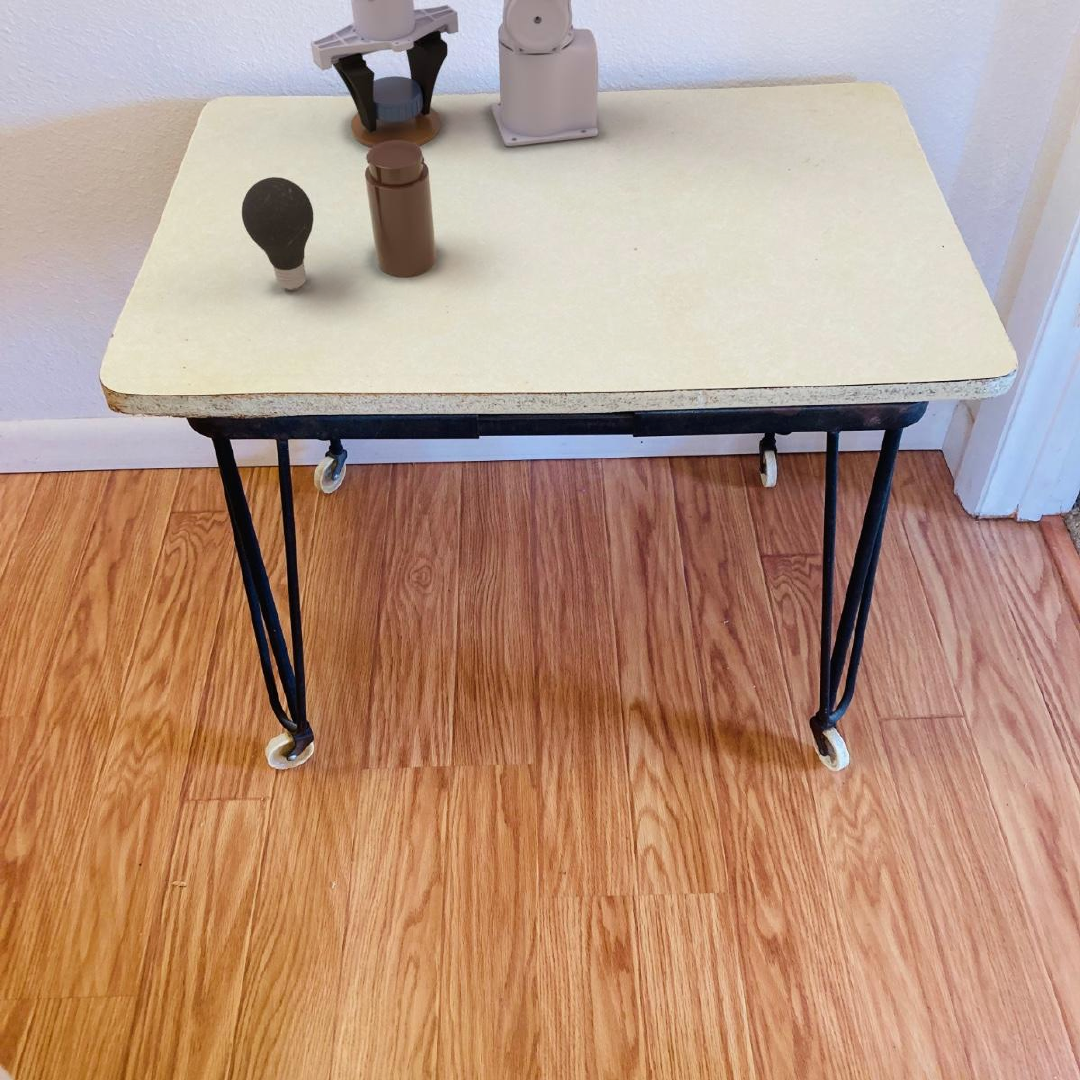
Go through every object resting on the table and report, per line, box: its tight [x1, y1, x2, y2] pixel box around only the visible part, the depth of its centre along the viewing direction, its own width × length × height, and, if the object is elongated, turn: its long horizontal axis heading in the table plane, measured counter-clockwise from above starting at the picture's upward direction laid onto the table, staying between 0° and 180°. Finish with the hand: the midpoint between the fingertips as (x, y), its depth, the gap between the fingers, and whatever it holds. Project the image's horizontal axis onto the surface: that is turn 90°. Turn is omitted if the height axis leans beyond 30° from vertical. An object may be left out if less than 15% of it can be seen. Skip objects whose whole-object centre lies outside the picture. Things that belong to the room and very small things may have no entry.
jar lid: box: [373, 75, 423, 122], centre depth 108 cm, size 6×6×2 cm
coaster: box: [350, 106, 442, 148], centre depth 110 cm, size 9×9×1 cm
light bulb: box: [241, 176, 314, 291], centre depth 89 cm, size 6×6×10 cm
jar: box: [364, 140, 437, 278], centre depth 91 cm, size 5×5×10 cm
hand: (395, 118), depth 109 cm, fingers closed on jar lid, 5 cm apart
